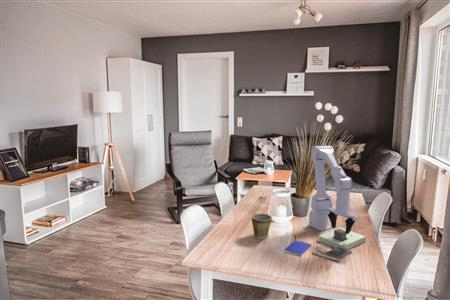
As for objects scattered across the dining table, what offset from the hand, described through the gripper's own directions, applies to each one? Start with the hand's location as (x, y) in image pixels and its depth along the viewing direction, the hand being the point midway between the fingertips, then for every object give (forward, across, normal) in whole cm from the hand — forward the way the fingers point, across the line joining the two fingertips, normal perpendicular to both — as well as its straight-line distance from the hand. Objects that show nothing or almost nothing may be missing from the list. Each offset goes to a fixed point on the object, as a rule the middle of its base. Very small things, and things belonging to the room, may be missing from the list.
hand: (340, 230), depth 152 cm
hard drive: (+7, -8, -21) cm, 23 cm away
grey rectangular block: (+6, 0, 0) cm, 6 cm away
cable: (+6, +5, -18) cm, 20 cm away
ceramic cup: (+7, -29, -24) cm, 38 cm away
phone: (+6, +6, -10) cm, 13 cm away
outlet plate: (+6, -1, +3) cm, 7 cm away
